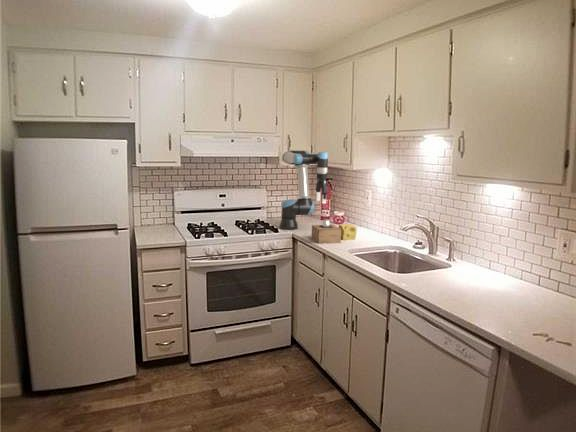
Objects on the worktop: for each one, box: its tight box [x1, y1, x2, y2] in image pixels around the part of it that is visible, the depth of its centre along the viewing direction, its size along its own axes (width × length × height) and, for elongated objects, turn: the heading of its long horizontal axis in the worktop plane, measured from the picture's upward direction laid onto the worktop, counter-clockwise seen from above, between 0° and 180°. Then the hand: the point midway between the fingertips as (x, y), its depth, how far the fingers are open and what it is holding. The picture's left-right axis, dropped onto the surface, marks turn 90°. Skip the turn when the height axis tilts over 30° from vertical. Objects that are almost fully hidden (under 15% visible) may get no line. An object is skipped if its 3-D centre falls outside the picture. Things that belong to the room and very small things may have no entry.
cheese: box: [337, 223, 358, 241], centre depth 313 cm, size 10×11×10 cm
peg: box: [322, 218, 331, 227], centre depth 303 cm, size 5×5×9 cm
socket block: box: [311, 224, 342, 245], centre depth 304 cm, size 18×16×10 cm
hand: (321, 202), depth 313 cm, fingers open, 13 cm apart
